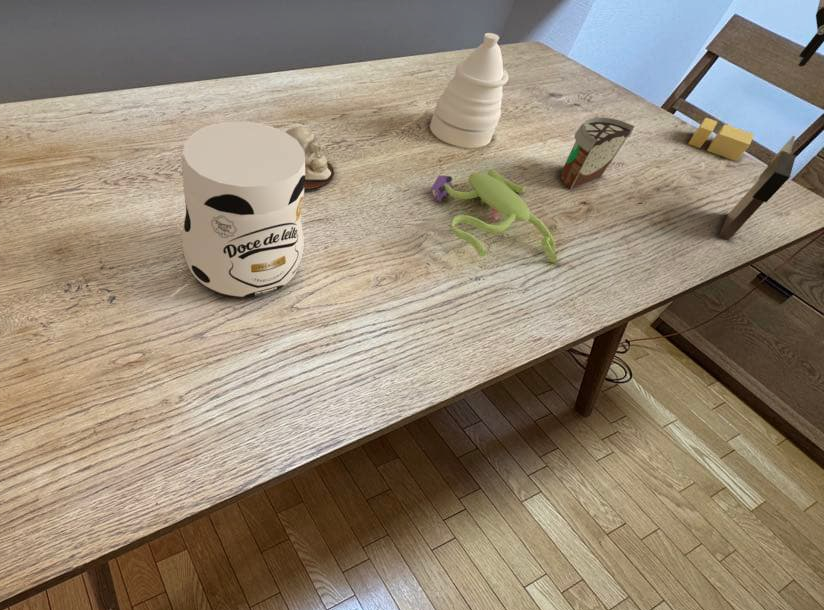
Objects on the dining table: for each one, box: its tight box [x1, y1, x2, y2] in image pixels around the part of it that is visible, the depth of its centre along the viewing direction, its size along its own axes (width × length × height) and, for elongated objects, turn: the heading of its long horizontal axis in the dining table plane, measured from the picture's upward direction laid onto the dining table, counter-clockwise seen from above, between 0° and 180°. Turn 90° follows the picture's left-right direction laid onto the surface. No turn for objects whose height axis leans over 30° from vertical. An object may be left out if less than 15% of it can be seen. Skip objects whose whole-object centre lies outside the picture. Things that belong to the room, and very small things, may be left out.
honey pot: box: [429, 32, 509, 149], centre depth 100 cm, size 13×13×18 cm
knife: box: [752, 135, 797, 203], centre depth 88 cm, size 17×2×4 cm, turn 143°
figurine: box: [431, 169, 558, 265], centre depth 87 cm, size 18×27×6 cm
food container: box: [559, 116, 636, 190], centre depth 96 cm, size 12×6×10 cm, turn 123°
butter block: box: [706, 123, 755, 162], centre depth 110 cm, size 6×6×4 cm
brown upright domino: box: [718, 180, 765, 241], centre depth 91 cm, size 2×9×8 cm, turn 143°
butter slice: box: [687, 117, 718, 149], centre depth 111 cm, size 2×6×4 cm, turn 143°
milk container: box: [181, 121, 305, 299], centre depth 70 cm, size 17×17×18 cm
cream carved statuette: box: [285, 126, 335, 190], centre depth 92 cm, size 12×10×10 cm
